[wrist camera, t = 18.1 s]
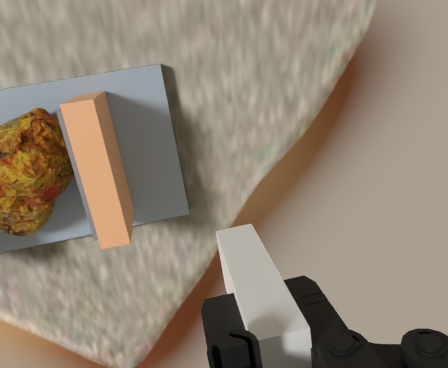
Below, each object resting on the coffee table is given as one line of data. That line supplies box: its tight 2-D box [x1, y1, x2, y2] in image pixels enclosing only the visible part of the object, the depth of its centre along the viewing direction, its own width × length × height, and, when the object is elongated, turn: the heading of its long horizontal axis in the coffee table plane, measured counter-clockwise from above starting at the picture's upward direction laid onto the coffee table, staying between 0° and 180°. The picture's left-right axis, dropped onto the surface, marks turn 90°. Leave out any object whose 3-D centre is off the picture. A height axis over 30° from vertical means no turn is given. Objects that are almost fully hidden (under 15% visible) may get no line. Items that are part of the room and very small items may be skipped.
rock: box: [0, 108, 75, 237], centre depth 34 cm, size 11×8×10 cm
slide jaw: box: [56, 91, 135, 249], centre depth 34 cm, size 12×3×7 cm, turn 9°
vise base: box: [0, 64, 190, 253], centre depth 34 cm, size 15×23×8 cm, turn 99°
